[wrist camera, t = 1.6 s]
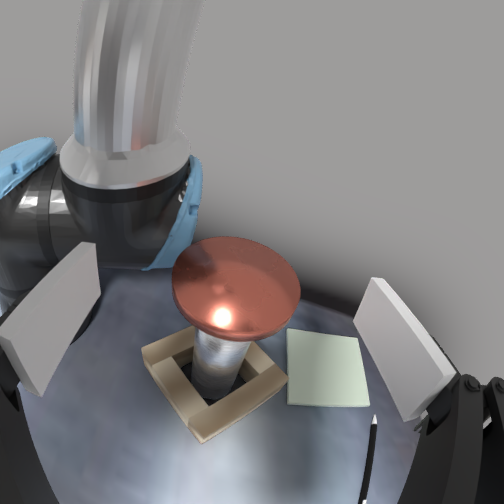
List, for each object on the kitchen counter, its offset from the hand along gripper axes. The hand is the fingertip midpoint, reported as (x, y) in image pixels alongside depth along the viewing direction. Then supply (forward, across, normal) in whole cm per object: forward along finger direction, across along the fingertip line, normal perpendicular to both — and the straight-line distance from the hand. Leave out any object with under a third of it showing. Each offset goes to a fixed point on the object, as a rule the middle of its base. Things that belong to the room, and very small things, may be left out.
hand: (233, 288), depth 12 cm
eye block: (+11, 0, -20) cm, 23 cm away
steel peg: (+11, 0, -20) cm, 23 cm away
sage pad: (+14, +16, -21) cm, 29 cm away
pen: (-3, +19, -25) cm, 32 cm away
